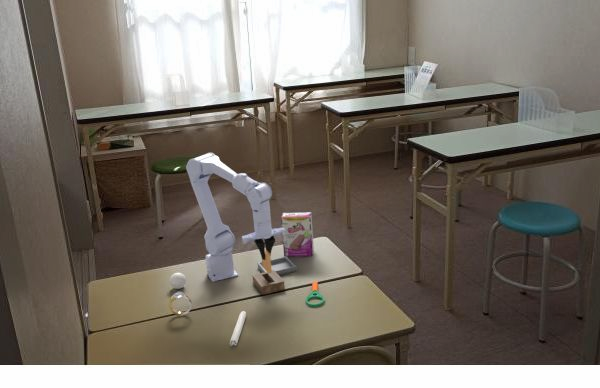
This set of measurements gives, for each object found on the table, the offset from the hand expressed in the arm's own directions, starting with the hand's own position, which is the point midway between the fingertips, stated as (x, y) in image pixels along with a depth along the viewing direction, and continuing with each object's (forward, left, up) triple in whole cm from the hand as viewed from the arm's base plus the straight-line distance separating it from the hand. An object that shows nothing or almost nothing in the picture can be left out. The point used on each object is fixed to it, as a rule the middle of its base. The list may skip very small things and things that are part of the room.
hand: (266, 258), depth 199 cm
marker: (-17, -22, -11) cm, 30 cm away
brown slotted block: (0, 0, -10) cm, 10 cm away
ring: (-31, -5, -11) cm, 33 cm away
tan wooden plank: (0, 0, -4) cm, 4 cm away
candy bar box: (+19, +19, -11) cm, 29 cm away
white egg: (-29, +15, -11) cm, 34 cm away
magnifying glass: (+11, -14, -11) cm, 21 cm away
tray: (+7, +11, -10) cm, 17 cm away
